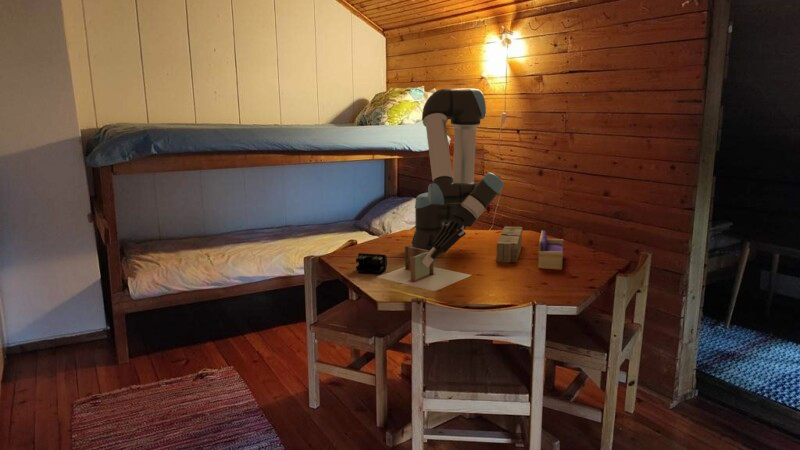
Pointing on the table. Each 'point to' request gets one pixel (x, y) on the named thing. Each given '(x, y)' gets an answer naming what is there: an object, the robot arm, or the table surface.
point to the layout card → (426, 278)
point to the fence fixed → (411, 253)
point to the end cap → (371, 263)
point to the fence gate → (418, 267)
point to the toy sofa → (550, 252)
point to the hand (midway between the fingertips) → (424, 264)
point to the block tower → (509, 244)
